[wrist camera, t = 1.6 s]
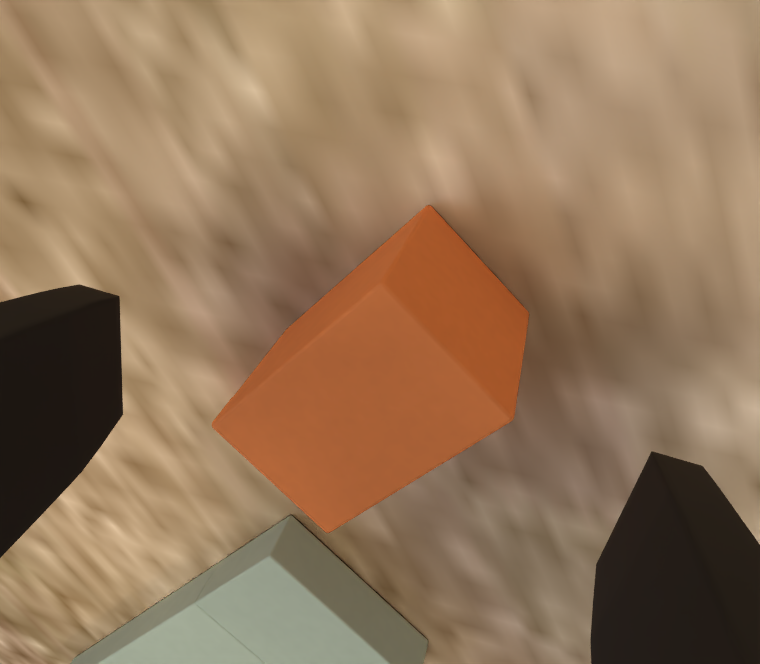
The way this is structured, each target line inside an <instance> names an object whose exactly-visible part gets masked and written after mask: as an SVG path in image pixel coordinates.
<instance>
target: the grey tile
mask: <svg viewBox="0 0 760 664" xmlns="http://www.w3.org/2000/svg"><path fill="white" fill-rule="evenodd" d="M427 646H428V640H427V639H426V638H425V637H424V636H423V635H421V634H420V633H419V632H418V631H417V630H416V629H415V628H414V627H413V626H412V625H411V624H409V623H408V622H407V621H406V620H405V619H404V618H403V617H402V616H401V615H400V614H399V613H397V612H396V611H395V610H394V609H393V608H392V607H391V606H390V605H389V604H388V603H387V602H386V601H384V600H383V599H382V598H381V597H380V596H379V595H378V594H377V593H376V592H375V591H374V590H372V589H371V588H370V587H369V586H368V585H367V584H366V583H365V582H364V581H363V580H362V579H360V578H359V577H358V576H357V575H356V574H355V573H354V572H353V571H352V570H351V569H350V568H348V567H347V566H346V565H345V564H344V563H343V562H342V561H341V560H340V559H339V558H338V557H337V556H335V555H334V554H333V553H332V552H331V551H330V550H329V549H328V548H327V547H326V546H325V545H323V544H322V543H321V542H320V541H319V540H318V539H317V538H316V537H315V536H314V535H313V534H311V533H310V532H309V531H308V530H307V529H306V528H305V527H304V526H303V525H302V524H301V523H299V522H298V521H297V520H296V519H295V518H294V517H293V516H291V515H290V516H289V517H287V518H286V519H284V520H283V521H281V522H279V523H278V524H276V525H275V526H273V527H272V528H270V529H269V530H267V531H266V532H264V533H263V534H261V535H260V536H258V537H257V538H255V539H254V540H252V541H251V542H249V543H248V544H246V545H245V546H243V547H242V548H240V549H239V550H237V551H236V552H234V553H233V554H231V555H229V556H228V557H226V558H225V559H223V560H222V561H220V562H219V563H218V564H216V565H215V566H213V567H212V568H210V569H209V570H207V571H206V572H204V573H203V574H201V575H200V576H198V577H196V578H195V579H193V580H192V581H190V582H189V583H187V584H186V585H184V586H183V587H181V588H180V589H178V590H177V591H175V592H174V593H172V594H171V595H169V596H168V597H166V598H165V599H163V600H162V601H160V602H159V603H157V604H156V605H154V606H153V607H151V608H149V609H148V610H146V611H145V612H143V613H142V614H140V615H139V616H137V617H136V618H134V619H133V620H131V621H130V622H128V623H127V624H125V625H124V626H122V627H121V628H119V629H118V630H116V631H115V632H113V633H112V634H110V635H109V636H107V637H106V638H104V639H103V640H101V641H99V642H98V643H96V644H95V645H93V646H92V647H90V648H89V649H87V650H86V651H84V652H83V653H81V654H80V655H78V656H77V657H75V658H74V659H73V661H72V662H71V663H70V664H424V659H425V655H426V650H427Z"/></svg>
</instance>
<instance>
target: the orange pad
mask: <svg viewBox="0 0 760 664" xmlns="http://www.w3.org/2000/svg"><path fill="white" fill-rule="evenodd" d="M528 320H529V312H528V311H527V310H526V309H525V308H524V307H523V306H522V305H521V303H520V302H519V301H518V300H517V299H516V298H515V297H514V296H513V295H512V294H511V293H510V291H509V290H508V289H507V288H506V287H505V286H504V285H503V284H502V283H501V282H500V281H499V279H498V278H497V277H496V276H495V275H494V274H493V273H492V272H491V271H490V270H489V269H488V267H487V266H486V265H485V264H484V263H483V262H482V261H481V260H480V259H479V258H478V257H477V255H476V254H475V253H474V252H473V251H472V250H471V249H470V248H469V247H468V246H467V245H466V243H465V242H464V241H463V240H462V239H461V238H460V237H459V236H458V235H457V234H456V233H455V231H454V230H453V229H452V228H451V227H450V226H449V225H448V224H447V223H446V222H445V221H444V220H443V218H442V217H441V216H440V215H439V214H438V213H437V212H436V211H435V210H434V209H433V208H432V206H430V205H428V206H426V207H425V208H423V209H422V210H421V211H420V212H419V213H418V214H417V215H416V216H414V217H413V218H412V219H411V220H410V221H409V222H408V223H406V224H405V225H404V226H403V227H402V228H401V229H400V230H399V231H397V232H396V233H395V234H394V235H393V236H392V237H391V238H389V239H388V240H387V241H386V242H385V243H384V244H383V245H381V246H380V247H379V248H378V249H377V250H376V251H375V252H374V253H372V254H371V255H370V256H369V257H368V258H367V259H366V260H364V261H363V262H362V263H361V264H360V265H359V266H358V267H357V268H355V269H354V270H353V271H352V272H351V273H350V274H349V275H347V276H346V277H345V278H344V279H343V280H342V281H341V282H339V283H338V284H337V285H336V286H335V287H334V288H333V289H332V290H330V291H329V292H328V293H327V294H326V295H325V296H324V297H322V298H321V299H320V300H319V301H318V302H317V303H316V304H315V305H313V306H312V307H311V308H310V309H309V310H308V311H307V312H305V313H304V314H303V315H302V316H301V317H300V318H299V319H298V320H296V321H295V322H294V323H293V324H292V325H291V326H290V327H288V328H287V329H286V331H285V332H284V333H283V334H282V336H281V337H280V338H279V339H278V341H277V342H276V343H275V344H274V346H273V347H272V348H271V350H270V351H269V352H268V353H267V355H266V356H265V357H264V358H263V360H262V361H261V362H260V363H259V365H258V366H257V367H256V369H255V370H254V371H253V372H252V374H251V375H250V376H249V377H248V379H247V380H246V381H245V382H244V384H243V385H242V386H241V388H240V389H239V390H238V391H237V393H236V394H235V395H234V396H233V397H232V398H231V399H230V401H229V402H228V403H227V404H226V406H225V407H224V408H223V409H222V411H221V412H220V413H219V415H218V416H217V417H216V418H215V420H214V421H213V422H212V427H213V429H215V430H216V431H217V432H218V433H219V434H220V435H221V436H222V437H223V438H224V439H225V440H226V441H227V442H229V443H230V444H231V445H232V446H233V447H234V448H235V449H236V450H237V451H238V452H239V453H240V454H242V455H243V456H244V457H245V458H246V459H247V460H248V461H249V462H250V463H251V464H252V465H253V466H255V467H256V468H257V469H258V470H259V471H260V472H261V473H262V474H263V475H264V476H265V477H266V478H268V479H269V480H270V481H271V482H272V483H273V484H274V485H275V486H276V487H277V488H278V489H279V490H281V491H282V492H283V493H284V494H285V495H286V496H287V497H288V498H289V499H290V500H291V501H292V502H294V503H295V504H296V505H297V506H298V507H299V508H300V509H301V510H302V511H303V512H304V513H305V514H307V515H308V516H309V517H310V518H311V519H312V520H313V521H314V522H315V523H316V524H317V525H318V526H320V527H321V528H322V529H323V530H324V531H325V532H327V533H330V532H331V531H333V530H335V529H336V528H338V527H340V526H341V525H343V524H344V523H346V522H348V521H349V520H351V519H353V518H354V517H356V516H357V515H359V514H361V513H362V512H364V511H366V510H367V509H369V508H371V507H372V506H374V505H375V504H377V503H379V502H380V501H382V500H384V499H385V498H387V497H389V496H390V495H392V494H393V493H395V492H397V491H398V490H400V489H402V488H403V487H405V486H406V485H408V484H410V483H411V482H413V481H415V480H416V479H418V478H420V477H421V476H423V475H424V474H426V473H428V472H429V471H431V470H433V469H434V468H436V467H438V466H439V465H441V464H442V463H444V462H446V461H447V460H449V459H451V458H452V457H454V456H455V455H457V454H459V453H460V452H462V451H464V450H465V449H467V448H469V447H470V446H472V445H473V444H475V443H477V442H478V441H480V440H482V439H483V438H485V437H487V436H488V435H490V434H491V433H493V432H495V431H496V430H498V429H500V428H501V427H503V426H504V425H506V424H508V423H509V422H511V421H512V420H513V419H514V415H515V408H516V401H517V394H518V388H519V381H520V374H521V367H522V360H523V354H524V347H525V340H526V333H527V326H528Z"/></svg>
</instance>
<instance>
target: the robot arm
mask: <svg viewBox="0 0 760 664" xmlns="http://www.w3.org/2000/svg"><path fill="white" fill-rule="evenodd" d="M122 415H123V402H122V368H121V334H120V300H119V296H117V295H113V294H110V293H106V292H103V291H100V290H96V289H93V288H89V287H86V286H82V285H74V286H69V287H63V288H58V289H53V290H48V291H44V292H40V293H35V294H31V295H27V296H23V297H19V298H16V299H12V300H8V301H4V302H0V557H1V556H2V555H3V554H4V553H5V552H6V551H7V550H8V549H9V548H10V547H11V546H12V545H13V544H14V543H15V542H16V541H17V540H18V539H19V538H20V537H21V536H22V535H23V534H24V532H25V531H26V530H27V529H28V528H29V527H30V526H31V525H32V524H33V523H34V522H35V521H36V520H37V519H38V518H39V517H40V516H41V515H42V514H43V513H44V512H45V511H46V509H47V508H48V507H49V506H50V505H51V504H52V503H53V502H54V501H55V500H56V499H57V498H58V497H59V496H60V495H61V494H62V492H63V491H64V490H65V489H66V488H67V487H68V486H69V485H70V484H71V483H72V482H73V481H74V480H75V478H76V477H77V476H78V475H79V474H80V473H81V472H82V471H83V469H84V468H85V467H86V465H87V464H88V463H89V461H90V460H91V459H92V457H93V456H94V455H95V453H96V452H97V451H98V449H99V448H100V447H101V445H102V444H103V442H104V441H105V440H106V438H107V437H108V435H109V434H110V432H111V431H112V429H113V428H114V427H115V425H116V424H117V422H118V421H119V419H120V418H121V416H122ZM591 663H592V664H760V544H759V543H758V542H757V540H756V539H755V537H754V536H753V535H752V533H751V532H750V530H749V529H748V528H747V526H746V525H745V523H744V522H743V521H742V519H741V518H740V516H739V515H738V513H737V512H736V511H735V509H734V508H733V506H732V505H731V504H730V502H729V501H728V499H727V498H726V497H725V495H724V494H723V492H722V491H721V490H720V488H719V487H718V486H717V484H716V483H715V482H714V480H713V479H712V478H711V476H710V475H709V474H708V472H707V471H706V470H705V469H704V467H703V466H700V465H697V464H694V463H690V462H687V461H683V460H680V459H676V458H673V457H670V456H666V455H663V454H659V453H656V452H651V454H650V456H649V458H648V460H647V462H646V464H645V466H644V468H643V470H642V472H641V474H640V476H639V478H638V480H637V482H636V484H635V486H634V489H633V491H632V493H631V495H630V497H629V499H628V501H627V503H626V505H625V507H624V509H623V511H622V513H621V515H620V517H619V519H618V521H617V523H616V525H615V527H614V529H613V531H612V533H611V535H610V538H609V540H608V542H607V544H606V546H605V548H604V550H603V552H602V554H601V556H600V558H599V560H598V562H597V564H596V575H595V587H594V598H593V611H592V626H591Z"/></svg>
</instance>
